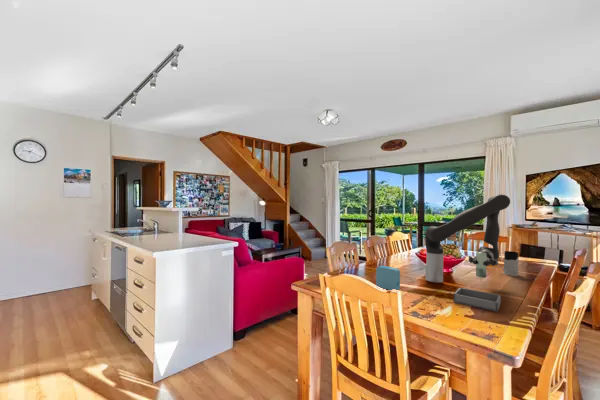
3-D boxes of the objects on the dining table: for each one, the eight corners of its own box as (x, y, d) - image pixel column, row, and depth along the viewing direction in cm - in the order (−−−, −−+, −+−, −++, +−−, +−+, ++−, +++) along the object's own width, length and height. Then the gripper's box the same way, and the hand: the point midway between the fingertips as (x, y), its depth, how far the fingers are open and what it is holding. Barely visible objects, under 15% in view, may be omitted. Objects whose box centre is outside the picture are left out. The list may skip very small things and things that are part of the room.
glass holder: (519, 276, 184) (520, 253, 184) (493, 273, 191) (493, 251, 191) (518, 273, 191) (518, 251, 191) (493, 270, 199) (493, 249, 199)
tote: (453, 302, 137) (453, 294, 137) (459, 295, 147) (459, 287, 147) (497, 311, 125) (497, 302, 125) (500, 303, 136) (500, 295, 136)
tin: (475, 276, 143) (475, 253, 143) (476, 274, 147) (476, 251, 147) (485, 278, 141) (485, 254, 141) (486, 276, 144) (486, 252, 144)
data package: (399, 290, 153) (400, 268, 153) (396, 292, 150) (396, 270, 150) (380, 285, 162) (380, 264, 162) (375, 287, 158) (376, 266, 158)
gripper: (469, 249, 159) (464, 253, 146) (500, 252, 150) (497, 257, 137) (469, 262, 159) (464, 268, 146) (500, 266, 150) (497, 273, 137)
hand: (480, 263), depth 142 cm, fingers closed on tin, 4 cm apart
